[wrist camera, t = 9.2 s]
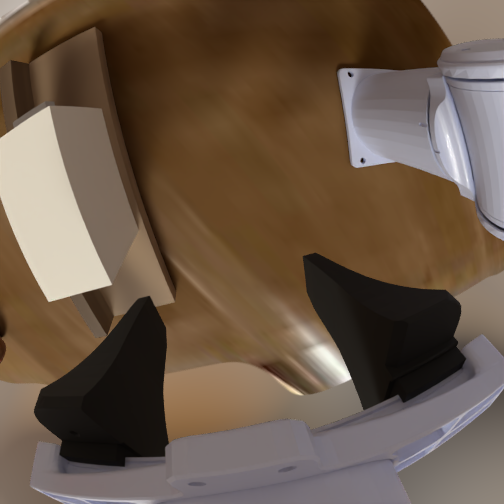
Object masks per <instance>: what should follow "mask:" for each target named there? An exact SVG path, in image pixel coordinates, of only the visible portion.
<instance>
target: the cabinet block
mask: <svg viewBox="0 0 504 504" xmlns="http://www.w3.org/2000/svg"><path fill="white" fill-rule="evenodd" d="M13 126H14V129H12V130H11V131H10V132H8V133H7V134H6V135H4V136H3V137H1V138H0V197H1V200H2V203H3V206H4V208H5V211H6V214H7V217H8V219H9V222H10V224H11V227H12V229H13V232H14V234H15V236H16V239H17V241H18V243H19V246H20V248H21V250H22V252H23V254H24V256H25V258H26V260H27V263H28V265H29V267H30V269H31V270H32V272H33V274H34V276H35V278H36V280H37V282H38V284H39V285H40V287H41V289H42V291H43V293H44V294H45V296H46V298H47V299H48V301H49V302H50V301H54V300H58V299H61V298H65V297H69V296H72V295H76V294H80V293H84V292H87V291H91V290H95V289H98V288H102V287H106V286H110V285H112V284H113V282H114V280H115V278H116V275H117V273H118V271H119V269H120V267H121V265H122V263H123V261H124V259H125V257H126V255H127V252H128V250H129V248H130V246H131V245H132V243H133V241H134V239H135V237H136V235H137V233H138V231H139V230H138V227H137V224H136V222H135V219H134V216H133V213H132V210H131V208H130V205H129V202H128V199H127V196H126V193H125V190H124V187H123V184H122V181H121V177H120V174H119V171H118V168H117V164H116V161H115V158H114V154H113V151H112V147H111V144H110V140H109V136H108V132H107V128H106V125H105V120H104V116H103V112H102V109H101V108H89V107H74V106H55V103H54V102H50V101H45V102H43V103H41V104H40V105H38V106H37V107H35V108H33V109H32V110H30V111H29V112H27V113H26V114H24V115H23V116H21V117H20V118H18V119H17V120H16V121H14V122H13Z"/></svg>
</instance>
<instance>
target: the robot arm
mask: <svg viewBox="0 0 504 504" xmlns="http://www.w3.org/2000/svg"><path fill="white" fill-rule="evenodd" d="M437 65H438V67H435V68H422V69H411V70H402V71H398V70H385V69H364V68H343V69H339V70H338V72H337V76H338V81H339V86H340V92H341V98H342V103H343V110H344V116H345V123H346V130H347V137H348V146H349V154H350V162H351V165H352V166H354V167H356V168H359V167H365V166H371V165H377V164H384V163H391V162H400V163H403V164H406V165H409V166H412V167H415V168H418V169H421V170H423V171H426V172H429V173H432V174H434V175H437V176H440V177H442V178H445V179H447V180H450V181H452V182H455V183H456V184H457V186H458V187H459V190H460V193H461V195H462V196H464V197H467V198H469V199H471V200H473V201H475V206H476V213H477V216H478V218H479V220H480V222H481V224H482V225H483V226H484V227H485V228H486V229H487V230H488V231H489V232H490V233H491V234H493V235H494V236H496V237H498V238H500V239H502V240H504V39H485V40H476V41H470V42H465V43H461V44H457V45H453V46H450V47H448V48H446V49H444V50H443V51H442V54H441V56H440V58H439V59H438V61H437ZM348 72H350V73H351V77H349V76H348ZM361 158H363V162H362V163H361V162H360V160H361ZM303 262H304V270H305V279H306V288H307V293H308V296H309V298H310V300H311V302H312V305H313V307H314V309H315V311H316V312H317V314H318V316H319V317H320V319H321V320H322V322H323V324H324V325H325V327H326V328H327V330H328V332H329V333H330V335H331V336H332V338H333V340H334V341H335V343H336V345H337V347H338V348H339V350H340V353H341V355H342V357H343V359H344V361H345V364H346V366H347V368H348V371H349V373H350V375H351V378H352V380H353V383H354V385H355V388H356V390H357V393H358V395H359V398H360V401H361V404H362V407H363V410H364V411H361V412H359V413H356V414H354V415H352V416H349V417H347V418H344V419H341V420H338V421H336V422H333V423H330V424H327V425H324V426H321V427H318V428H315V429H312V430H310V427H309V426H308V425H307V424H306V423H305V422H304V421H301V420H294V419H282V420H276V421H268V422H265V423H260V424H256V425H251V426H247V427H242V428H237V429H232V430H226V431H220V432H214V433H208V434H201V435H194V436H187V437H183V438H178V439H174V440H173V441H172V442H170V443H169V442H168V436H167V429H166V422H165V412H164V399H163V382H164V371H165V360H166V349H167V338H166V327H165V325H164V323H163V321H162V319H161V317H160V315H159V313H158V311H157V309H156V307H155V305H154V303H153V301H152V299H151V297H150V296H146V297H142V298H138V299H137V300H136V301H135V303H134V304H133V305H132V306H131V307H130V309H129V310H128V311H127V313H126V314H125V315H124V316H123V318H122V319H121V320H120V321H119V323H118V324H117V325H116V327H115V328H114V329H113V330H112V331H111V333H110V334H109V335H108V336H107V337H106V339H105V340H104V341H103V342H102V343H101V344H100V345H99V346H98V347H97V348H96V349H95V350H94V351H93V352H92V353H91V354H90V355H89V356H88V357H87V358H86V359H84V360H83V361H82V362H81V363H80V364H79V365H78V366H76V367H75V368H74V369H72V370H71V371H70V372H68V373H67V374H66V375H64V376H63V377H61V378H60V379H58V380H57V381H55V382H53V383H51V384H50V385H48V386H46V387H45V388H43V389H41V391H40V394H39V397H38V400H37V403H36V406H35V409H34V413H35V416H36V418H37V419H38V420H39V422H40V423H41V424H42V425H44V426H45V427H46V428H47V429H48V430H49V431H51V432H52V433H53V434H55V435H56V436H57V437H58V438H60V439H61V440H62V444H61V446H60V445H57V444H54V443H48V442H42V441H39V442H38V445H37V449H36V454H35V458H34V464H33V469H32V474H31V480H30V486H31V487H32V488H34V489H36V490H38V491H40V492H41V493H43V494H45V495H47V496H49V497H51V498H54V499H56V500H58V501H60V502H62V503H64V504H411V502H410V500H409V498H408V496H407V493H406V492H405V489H404V487H403V485H402V483H401V481H400V479H399V476H398V474H397V472H399V471H400V470H402V469H404V468H406V467H407V466H409V465H411V464H412V463H414V462H416V461H417V460H419V459H421V458H422V457H424V456H425V455H427V454H428V453H430V452H431V451H433V450H434V449H436V448H437V447H439V446H440V445H441V444H443V443H444V442H445V441H447V440H448V439H450V438H451V437H452V436H454V435H455V434H456V433H457V432H459V431H460V430H461V429H463V428H464V427H465V426H466V425H468V424H469V423H470V422H472V421H473V420H474V419H475V418H476V417H477V416H479V415H480V414H481V413H482V412H484V411H485V410H486V409H487V408H488V407H489V406H490V405H491V404H492V402H494V400H495V399H496V398H497V397H498V395H499V394H500V393H501V391H502V390H503V389H504V357H503V356H502V355H501V354H500V353H499V351H497V349H496V348H495V347H494V346H493V345H492V344H491V343H490V342H489V340H488V339H487V338H486V337H485V336H484V335H479V336H478V337H477V338H475V339H474V340H473V341H471V342H470V343H468V344H467V345H466V346H465V347H463V349H462V350H461V351H459V349H458V348H457V347H456V346H457V344H458V341H457V340H456V339H455V338H454V333H455V331H456V328H457V325H458V322H459V319H460V316H461V305H460V303H459V302H458V301H457V300H456V299H455V298H454V297H453V296H452V295H451V294H450V293H449V292H447V291H446V290H432V289H418V288H410V287H403V286H398V285H394V284H389V283H385V282H382V281H379V280H375V279H372V278H369V277H366V276H364V275H361V274H359V273H356V272H354V271H352V270H349V269H347V268H345V267H343V266H341V265H339V264H337V263H335V262H333V261H331V260H329V259H327V258H325V257H323V256H321V255H319V254H317V253H313V254H309V255H305V256H303Z"/></svg>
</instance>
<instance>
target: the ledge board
mask: <svg viewBox="0 0 504 504" xmlns="http://www.w3.org/2000/svg"><path fill="white" fill-rule="evenodd" d="M0 89H1V98H2V105H3V112H4V118H5V124H6V129H7V133H8V132H10V131H11V130H12V129H14V126H13V122H14V121H16V120H17V119H18V118H20V117H21V116H23V115H24V114H26V113H27V112H29V111H30V110H32V109H33V108H35V107H37V106H38V105H40V104H41V103H43V102H45V101H50V102H54V103H55V106H74V107H89V108H101V109H102V112H103V116H104V120H105V125H106V128H107V132H108V136H109V140H110V144H111V147H112V151H113V154H114V158H115V161H116V164H117V168H118V171H119V174H120V177H121V181H122V184H123V187H124V190H125V193H126V196H127V199H128V202H129V205H130V208H131V210H132V213H133V216H134V219H135V222H136V224H137V227H138V230H139V231H138V233H137V235H136V237H135V239H134V241H133V243H132V245H131V246H130V248H129V250H128V252H127V255H126V257H125V259H124V261H123V263H122V265H121V267H120V269H119V271H118V273H117V275H116V278H115V280H114V282H113V284H112V285H110V286H106V287H102V288H98V289H95V290H91V291H87V292H84V293H80V294H76V295H72V296H70V298H71V299H72V301H73V303H74V304H75V306H76V308H77V309H78V311H79V313H80V314H81V316H82V318H83V319H84V321H85V322H86V324H87V326H88V327H89V329H90V330H91V332H92V333H93V335H94V336H95V338H97V337H103V336H107V335H108V332H109V329H110V326H111V323H112V320H113V317H114V316H116V315H121V314H125V313H127V311H128V310H129V309H130V307H131V306H132V305H133V304H134V303H135V301H136V300H137V299H138V298H142V297H146V296H150V297H151V299H152V301H153V303H154V305H155V307H156V306H160V305H165V304H169V303H173V302H175V297H176V290H175V288H174V285H173V283H172V280H171V278H170V275H169V273H168V270H167V268H166V265H165V263H164V260H163V258H162V255H161V252H160V250H159V247H158V244H157V242H156V239H155V236H154V234H153V231H152V228H151V225H150V222H149V219H148V217H147V214H146V211H145V208H144V205H143V202H142V199H141V196H140V193H139V189H138V186H137V183H136V180H135V177H134V173H133V170H132V167H131V163H130V160H129V156H128V153H127V149H126V145H125V142H124V138H123V134H122V130H121V126H120V123H119V118H118V114H117V110H116V106H115V101H114V97H113V92H112V88H111V83H110V78H109V73H108V67H107V62H106V56H105V50H104V44H103V37H102V32H101V31H100V30H98V29H97V28H96V27H93V28H91V29H89V30H87V31H85V32H83V33H81V34H79V35H77V36H75V37H73V38H71V39H69V40H67V41H65V42H64V43H62V44H60V45H58V46H56V47H55V48H53V49H51V50H50V51H48V52H46V53H45V54H43V55H41V56H40V57H38V58H37V59H35V60H34V61H32V62H31V63H29V64H27V63H22V62H17V61H12V60H10V61H9V62H8V63H6V64H5V65H4V66H3V67H1V68H0Z"/></svg>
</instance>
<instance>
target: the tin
mask: <svg viewBox="0 0 504 504" xmlns="http://www.w3.org/2000/svg"><path fill="white" fill-rule="evenodd" d="M5 352H6V345H5V343H4V341H3V340H2V339H1V337H0V363H1V361H2V360H3V358H4V355H5Z"/></svg>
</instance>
